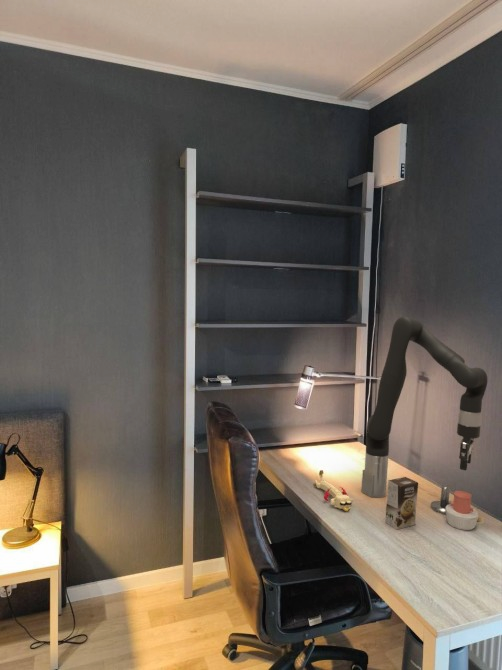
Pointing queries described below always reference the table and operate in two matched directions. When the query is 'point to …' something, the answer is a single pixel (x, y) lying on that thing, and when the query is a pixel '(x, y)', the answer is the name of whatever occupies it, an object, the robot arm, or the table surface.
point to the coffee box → (401, 502)
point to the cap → (462, 502)
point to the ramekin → (461, 518)
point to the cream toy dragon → (334, 494)
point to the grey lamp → (442, 500)
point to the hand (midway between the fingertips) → (465, 466)
